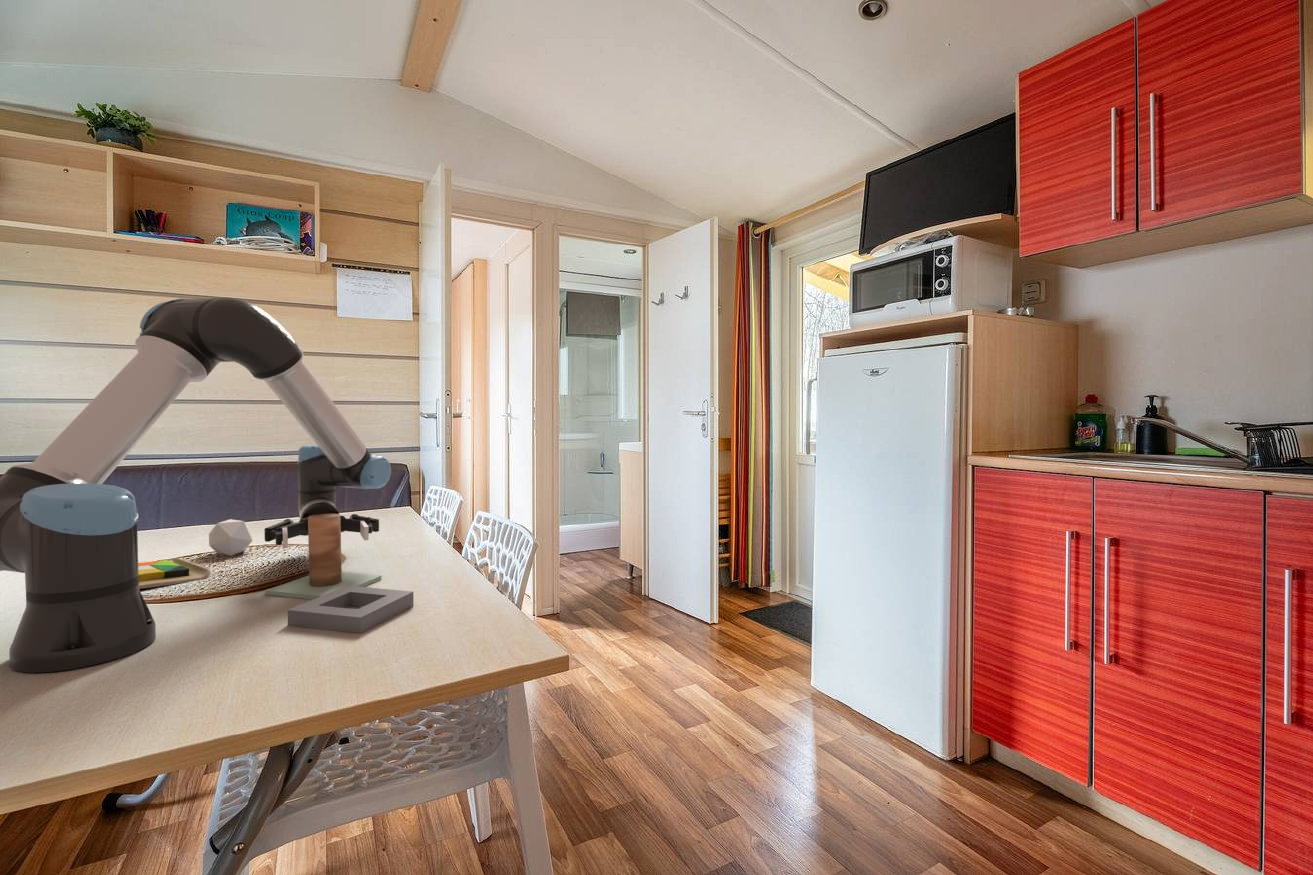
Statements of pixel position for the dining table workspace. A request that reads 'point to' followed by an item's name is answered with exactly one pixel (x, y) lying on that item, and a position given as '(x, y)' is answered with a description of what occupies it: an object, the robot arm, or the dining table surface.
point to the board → (304, 590)
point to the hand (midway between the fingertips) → (327, 537)
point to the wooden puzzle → (169, 572)
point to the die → (230, 537)
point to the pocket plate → (337, 617)
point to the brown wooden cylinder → (324, 549)
